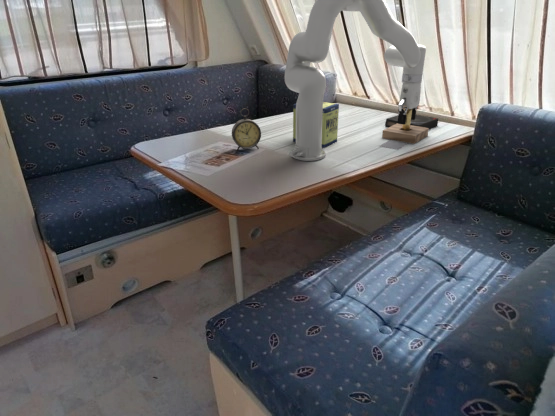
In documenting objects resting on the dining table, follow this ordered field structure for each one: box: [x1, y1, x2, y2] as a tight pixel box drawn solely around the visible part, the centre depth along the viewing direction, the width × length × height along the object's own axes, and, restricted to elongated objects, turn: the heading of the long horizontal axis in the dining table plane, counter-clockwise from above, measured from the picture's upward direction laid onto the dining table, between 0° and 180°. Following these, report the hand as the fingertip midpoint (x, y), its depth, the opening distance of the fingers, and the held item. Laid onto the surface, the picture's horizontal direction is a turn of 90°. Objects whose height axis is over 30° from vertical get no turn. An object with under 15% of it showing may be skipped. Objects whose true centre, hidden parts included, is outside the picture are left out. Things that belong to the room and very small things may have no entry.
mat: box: [379, 139, 410, 151], centre depth 162 cm, size 10×8×1 cm
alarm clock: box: [231, 108, 262, 152], centre depth 158 cm, size 11×5×16 cm, turn 105°
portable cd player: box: [384, 114, 439, 130], centre depth 186 cm, size 16×17×4 cm
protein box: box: [292, 101, 340, 149], centre depth 165 cm, size 10×16×16 cm
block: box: [381, 123, 430, 145], centre depth 171 cm, size 14×14×4 cm
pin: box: [402, 108, 412, 131], centre depth 169 cm, size 3×3×12 cm
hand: (406, 121), depth 169 cm, fingers open, 9 cm apart
